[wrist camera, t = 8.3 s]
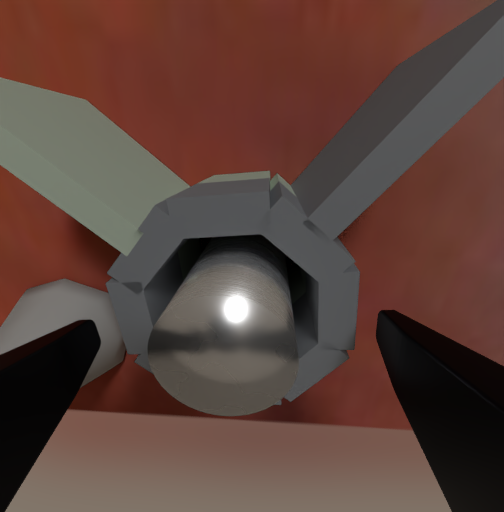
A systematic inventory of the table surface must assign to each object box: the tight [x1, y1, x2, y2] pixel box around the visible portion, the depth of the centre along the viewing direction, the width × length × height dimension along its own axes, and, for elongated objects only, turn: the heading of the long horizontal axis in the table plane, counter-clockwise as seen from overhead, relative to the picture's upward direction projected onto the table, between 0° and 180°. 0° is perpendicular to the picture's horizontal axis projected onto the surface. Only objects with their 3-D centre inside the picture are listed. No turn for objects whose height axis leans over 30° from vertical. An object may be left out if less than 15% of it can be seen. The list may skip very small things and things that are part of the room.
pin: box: [147, 234, 299, 416], centre depth 11 cm, size 4×4×9 cm
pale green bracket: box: [0, 78, 306, 304], centre depth 11 cm, size 15×8×7 cm, turn 50°
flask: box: [0, 279, 126, 388], centre depth 14 cm, size 7×7×10 cm
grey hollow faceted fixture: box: [106, 0, 504, 405], centre depth 11 cm, size 15×8×7 cm, turn 140°
